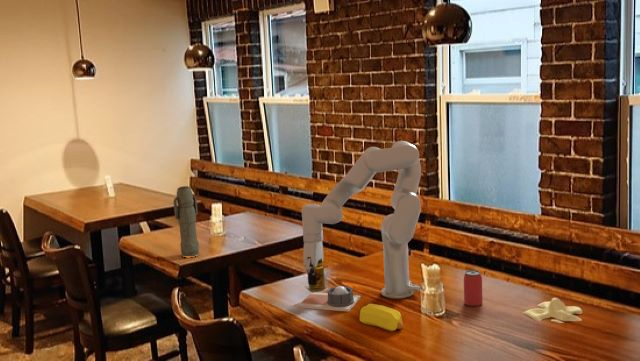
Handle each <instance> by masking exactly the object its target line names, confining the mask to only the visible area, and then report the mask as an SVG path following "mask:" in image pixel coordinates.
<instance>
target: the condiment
mask: <svg viewBox="0 0 640 361" xmlns="http://www.w3.org/2000/svg"><path fill="white" fill-rule="evenodd" d="M323 264H324V263H323V262H322V259H320V260H319V261H318V266H317V267H316V269H315V275H316V283H317V284H316V285H309V284H308V285H304V286H303V287H304V289H306V290H307V291H309V292H310V294H311V293H314V292H315V293H321V292H324V291H327V290H329V288H328V287H327V286H326V284H325V283H326V282H325V267H324V265H323ZM310 267H313V265H311V266H310ZM310 269H311V270H312V271H313V268H310Z"/></svg>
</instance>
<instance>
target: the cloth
mask: <svg viewBox="0 0 640 361" xmlns="http://www.w3.org/2000/svg"><path fill="white" fill-rule="evenodd" d="M537 306H538V307H540V308H530V309H528V310H525V311H522V314H524V315H526V316H527V317H529V318H531V319H532V320H534V321H536V322H541V321H542V320H545V319H549V318H554V319H551V320H550V321H551V323H552V322H554V323H558V324H564V323H565V322H580V321H581V322H582V318H580V317H579V316H577V314H578V315H582V314H584V313H583V310H582V309H581V308H580V307H579V306H575V305H573V306H568V305H567V306H566V305H565V303H564V302H563V301H562V300H561V299H560V298H558V297H552V299H550V301H543V302H540V303H539V304H537Z"/></svg>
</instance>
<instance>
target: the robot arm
mask: <svg viewBox="0 0 640 361" xmlns="http://www.w3.org/2000/svg"><path fill="white" fill-rule="evenodd" d="M395 170H397V171H398V173H397V174H398V175H397V179H396V182H395V186H394V189H393V191H392V195H391V199H390V204H391V207H392V208H393V209H394V211H393V213H390V214H388V215H386V216H385V217H383V220H382V221H381V225H380V233H381V240H382V247H383V248H382V250H383V252H382V253H383V271H384V272H383V273H384V287H383V288H382V289H381V295H382V296H383V297H385V298H388V299H406V298H409V297H411V296H413V295H414V292H420V291H421V286H420V285H419V284H413V283H412V280H410V270H409V269H410V268H409V246H408V243H409V242H410V241H411V240H412V238H413V237H414V234H415V231H416V227H417V224H418V221H419V217H420V214H421V211H422V210H421V209H422V202H421V200H420V197H419V196H418V195H417V193H418V189H419V184H420V181H421V177H422V165H421V161H420V151H419V149H418V148H417V147H416V146H415V145H414V144H412V143H410V142H408V141H406V140H405V141H404V140H399V141H396V142H394V143H393V144H392V145H391V147H386V148H379V147H377V146H369V147H368V148H366V149H365V150H364V151H363V152H362V154H361V155H360V157H358V159H357V160H356V161H355V163H354V164H353V165H352V167H351V168H350V169H349V171H348V172H347V173H346V174H345V176H344V177H342V179H340V181H339V182H338V183H336V185H334V186H333V187H332V189H331V190H330V192H329V193H328V194H327V195H326V197H325V198H323V201H322V203H321V204H318V203H308V204H304V205H302V207H301V218H302V220H301V222H302V223H301V224H302V236H303V237H302V238H303V256H302V258H303V267H304V268H305V270H306V273H307V274H306V275H307V285H308V286H309V285H316V284H317V283H316V275H315V269H316V267H317V266H318V261H319V260H320V259H322V263H323V262H324V258H325V257H324V245H323V244H324V243H323V241H324V234H323V230H324V228H323V224H328V225H335V224H337V223H340V222H341V221H342V219H343V217H344V213H343V210H342V207H343V206H344V205H345V203H346V202H347V201H348V200H349V199H350V198H351V197H352V196H354V195H356V194H358V193H360V192H362V191H364V189H366V187H367V185H368V184H369V183H370V182H371V180H372V179H373V178H374V176H375V175H376V174H377V173H385V172H391V171H395ZM311 265H313V267H310V266H311ZM310 268H313V271H312V270H311V269H310Z"/></svg>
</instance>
